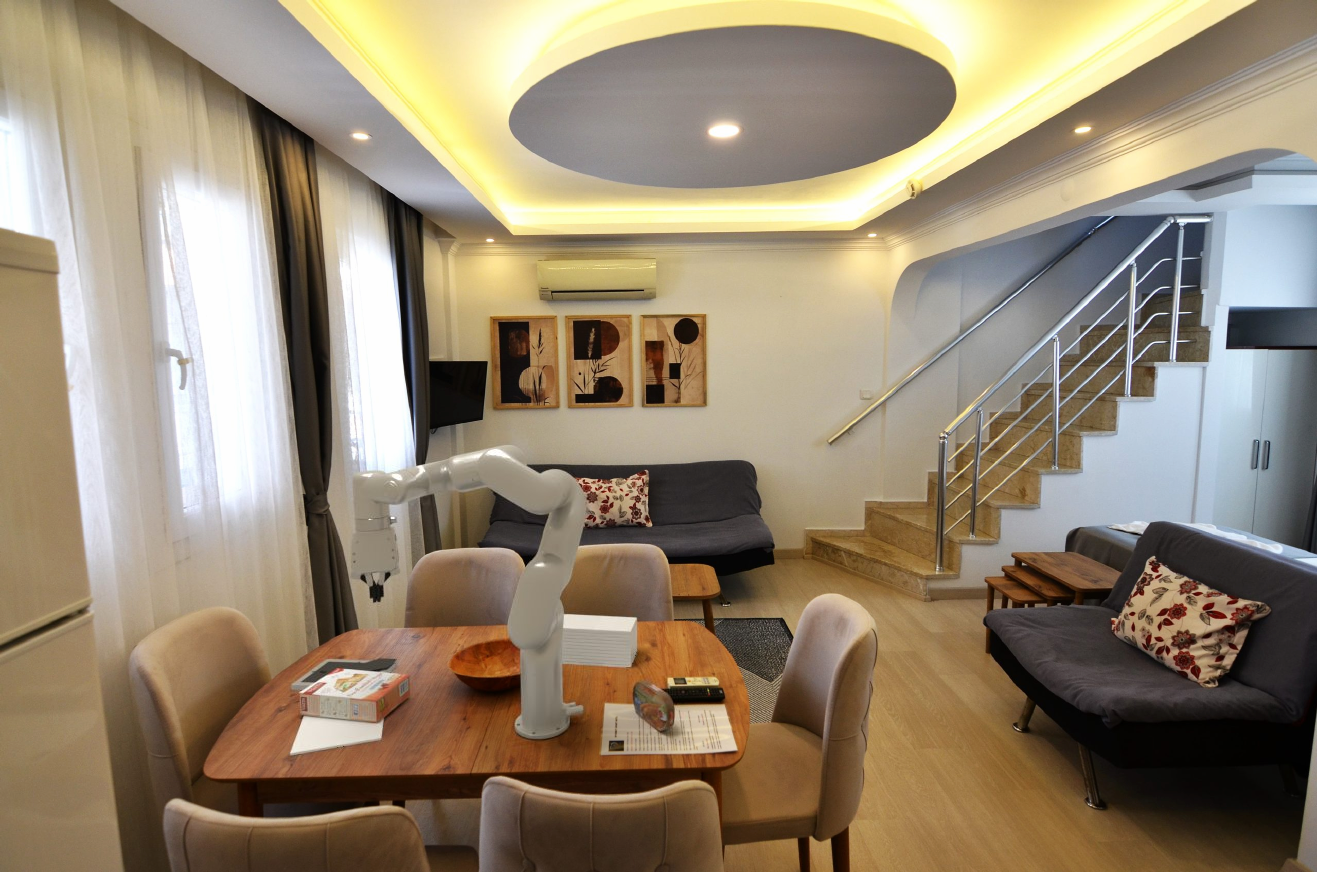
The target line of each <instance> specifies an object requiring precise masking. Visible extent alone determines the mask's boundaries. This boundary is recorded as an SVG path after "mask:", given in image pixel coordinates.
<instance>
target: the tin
mask: <svg viewBox="0 0 1317 872" xmlns="http://www.w3.org/2000/svg"><path fill="white" fill-rule="evenodd" d="M673 701H674V700H673V699H672V697H671V695H669V693H668V692H666V691H664V690H663V689H662V688H661V687H659V686H657V685H656V684H655V683H653V682H651V681H649V680H643V681H637V682H635V684H634V686H633V688H632V702H633V707H634V710H635V712H636V713H637V715H638V716H639V717H640V719H642V720H644V721H645V722H646V723H647V724H648V725H650V726H651V728H653V729H654V730H656V731H658V732H664V731H665V730H668V729H671V728H672V727H673V726H674V724H675V718H676V717H675V716H676V714H675V713H676V711H675V709H676V708H675V705H674V702H673Z"/></svg>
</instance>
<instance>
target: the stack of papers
mask: <svg viewBox="0 0 1317 872" xmlns="http://www.w3.org/2000/svg"><path fill="white" fill-rule="evenodd" d="M636 652H637V653H638V618H637V617H633V616H629V617H628V616H611V615H610V616H609V615H592V614H590V615H589V614H573V613H571V614H570V613H569V614H568V613H566V614H565V613H564V624H563V636H562V665H578V666H579V665H580V666H592V667H593V666H595V667H611V668H612V667H614V668H626V667H631V668H632V666H633V664H632V663H634V660H635V659H636V656H637V653H636ZM635 655H636V656H635Z"/></svg>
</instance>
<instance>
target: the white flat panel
mask: <svg viewBox="0 0 1317 872" xmlns="http://www.w3.org/2000/svg"><path fill="white" fill-rule="evenodd" d="M384 721H385V717H384V718H382V719H381V720H380V721H379V722H368V721H358V720H348V719H338V718H329V717H319V716H309V715H303V717H302V720H301V723H300V726H299V728H298V731H297V733H296V736H295V739H294V742H293V744H292V747H291V750H290V752H289V756H290V757H291V756H297V755H302V754H303V755H304V754H308V753H313V752H314V753H315V752H321V751H325V750H326V751H327V750H332V749H336V748H337V747H338V748H342V747H343V746H344V747H347V746H348V747H350V746H353V745H354V746H355V745H360V744H367V743H373V742H377V741H381V740H382V739H383V738H382V737H383V731H384V730H383V729H384Z"/></svg>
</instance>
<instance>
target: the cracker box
mask: <svg viewBox="0 0 1317 872" xmlns="http://www.w3.org/2000/svg"><path fill="white" fill-rule="evenodd" d="M410 678H411V677H410V674H405V673H397V672H395V673H393V672H391V673H384V672H373V671H362V670H351V669H341V668H337V669H335V670H334V671H332V672H331V673H329V674H328V675H326V676H325V677H323V678H321V679H320V680H318V681H317V682H315V683H314V684H312V685H310V686H309V687H307V688H306V689H304V690H302V691H299V693H298V694H299V695H298V697H299V715H301V716H304V715H309V716H319V717H329V718H338V719H348V720H358V721H368V722H379V721H380V720H381V719H382V718H384V719H385V717H386V716H387V715H388V714H389V713H391V712H392V711H393V710H394V709H396V708H397V707H398V706H400V704H402V703H403V702H404V701H405V700H407V699H408V698H409V697H410V696H411V683H410V682H411V681H410V680H411V679H410Z"/></svg>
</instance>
